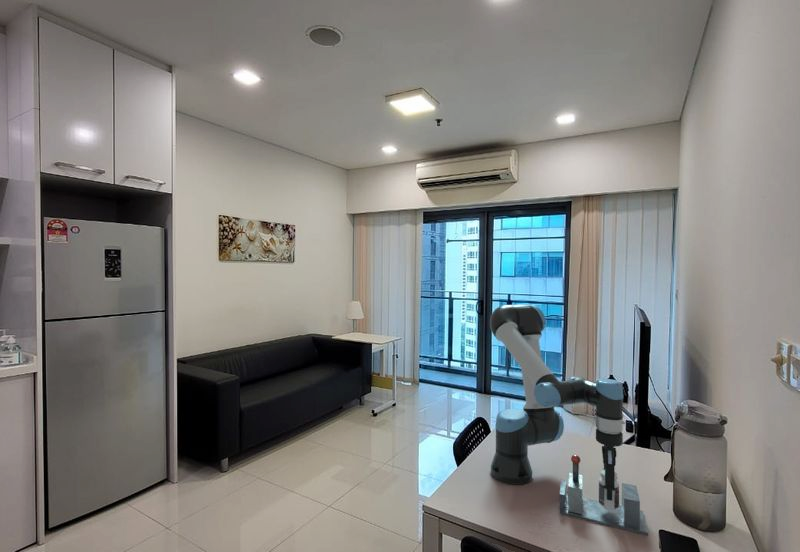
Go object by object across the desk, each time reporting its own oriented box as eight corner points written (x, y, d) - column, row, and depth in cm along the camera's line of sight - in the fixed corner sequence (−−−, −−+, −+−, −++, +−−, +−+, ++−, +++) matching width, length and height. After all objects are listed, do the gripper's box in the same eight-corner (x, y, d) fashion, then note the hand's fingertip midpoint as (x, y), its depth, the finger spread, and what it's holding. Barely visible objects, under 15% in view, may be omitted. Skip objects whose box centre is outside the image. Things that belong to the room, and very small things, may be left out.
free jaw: (567, 511, 126) (568, 460, 126) (569, 495, 135) (569, 448, 135) (581, 514, 125) (582, 462, 125) (582, 498, 134) (582, 450, 134)
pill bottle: (621, 511, 123) (621, 478, 123) (601, 508, 124) (601, 476, 124) (615, 500, 128) (615, 469, 128) (596, 498, 129) (596, 467, 129)
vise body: (559, 513, 127) (559, 485, 127) (561, 495, 137) (561, 469, 137) (648, 535, 116) (648, 505, 116) (642, 513, 127) (643, 485, 127)
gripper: (625, 442, 116) (624, 523, 116) (620, 422, 133) (620, 492, 133) (596, 438, 119) (595, 516, 119) (595, 418, 136) (594, 487, 136)
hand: (608, 503), depth 126 cm, fingers closed on pill bottle, 6 cm apart
